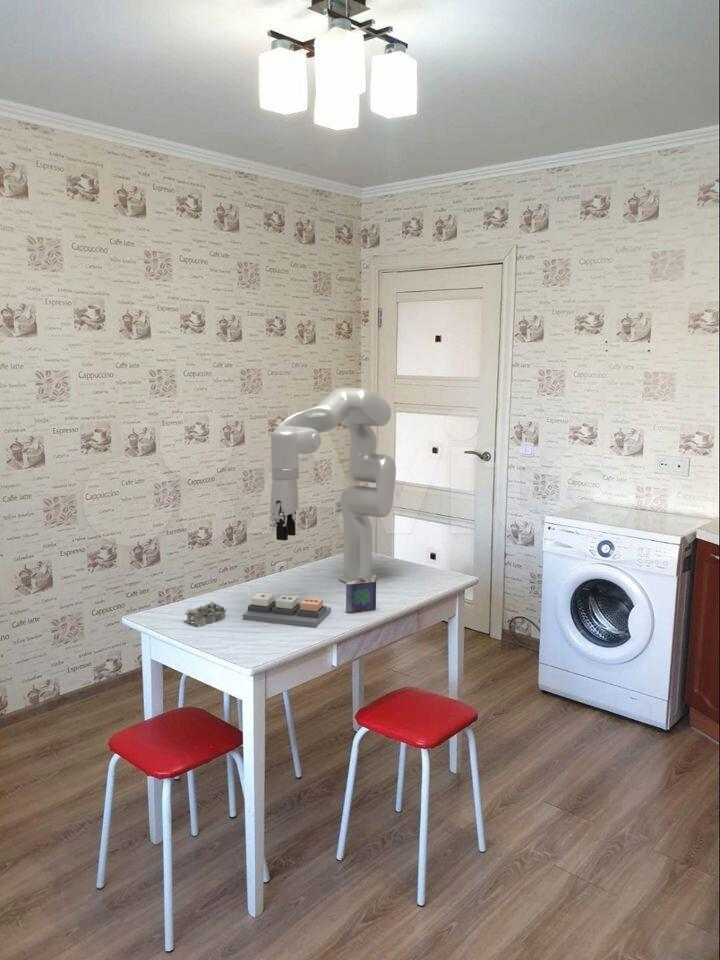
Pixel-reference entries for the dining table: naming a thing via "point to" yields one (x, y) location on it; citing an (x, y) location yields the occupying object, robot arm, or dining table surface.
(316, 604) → the tile
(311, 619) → the keypad board
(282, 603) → the tile
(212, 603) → the egg carton
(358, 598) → the flask
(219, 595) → the dining table surface
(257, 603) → the tile
